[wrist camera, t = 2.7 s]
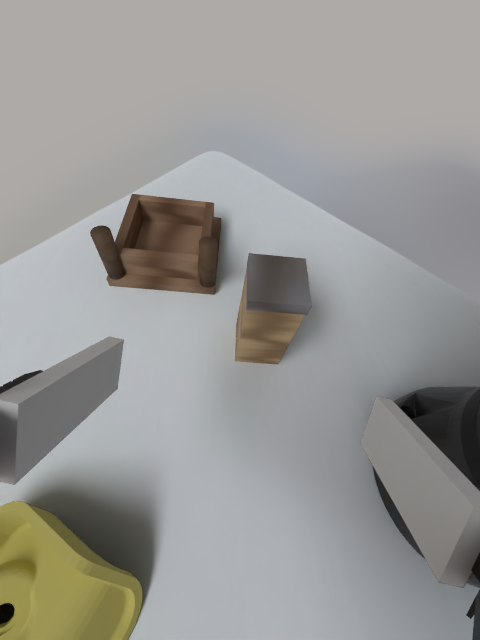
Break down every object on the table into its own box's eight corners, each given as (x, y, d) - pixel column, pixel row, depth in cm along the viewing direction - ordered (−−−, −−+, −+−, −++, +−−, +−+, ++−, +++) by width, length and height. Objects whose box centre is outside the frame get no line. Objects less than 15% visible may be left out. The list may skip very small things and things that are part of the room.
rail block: (276, 326, 32) (305, 258, 23) (278, 364, 30) (311, 306, 21) (236, 323, 32) (248, 253, 23) (234, 361, 30) (248, 300, 20)
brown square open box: (220, 225, 40) (223, 176, 34) (214, 294, 34) (216, 250, 28) (132, 216, 39) (119, 164, 33) (109, 285, 33) (87, 237, 27)
